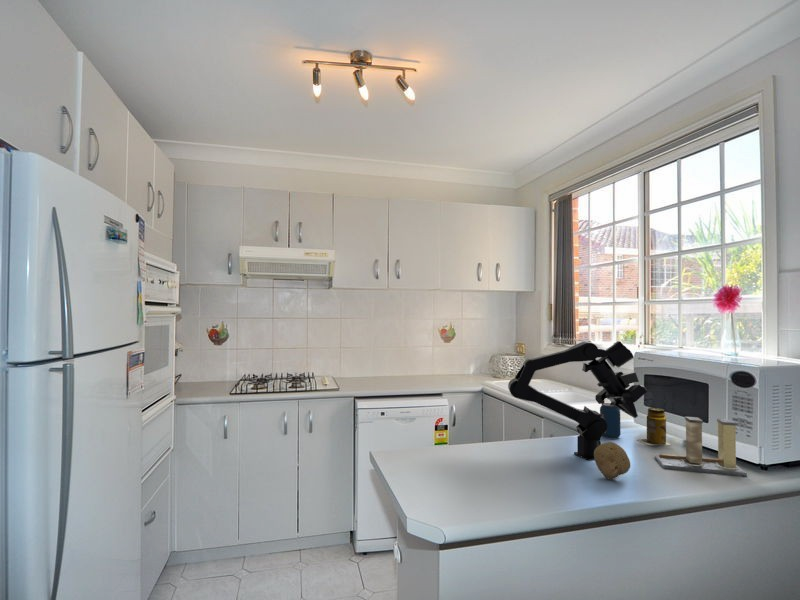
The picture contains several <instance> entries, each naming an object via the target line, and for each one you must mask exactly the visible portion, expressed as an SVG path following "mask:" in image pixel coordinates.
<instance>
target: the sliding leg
mask: <svg viewBox="0 0 800 600" xmlns="http://www.w3.org/2000/svg"><path fill="white" fill-rule="evenodd" d="M684 420H685V456H686V459H687V460H688V461H689V462H690V463H698V464H702V458H703V423H704V421H703V420H702V419H701V418H700V417H697V416H684Z"/></svg>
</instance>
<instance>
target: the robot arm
mask: <svg viewBox="0 0 800 600" xmlns="http://www.w3.org/2000/svg"><path fill="white" fill-rule="evenodd" d="M634 357H635V356H634V354H633V353H632V351H631V350H630V349H629V348H628V347H626V346H625V345H624V344H623V343H622V342H621V341H618V340H617V341H616V342H615V343H613V344H612V345H611V346H609V347H608V348H606V349H603V348H598V346H597V345H596V344H594V343H593V342H589V341H581V342H579V343H577V344H574V345H572V346H570V347H569V348H567V349H565V350H561V351H558V352H557V351H556V352H554V353H550V354H547V355H542V356H541V355H540V356H538V357H535V358H534V357H533V358H527V359H525V361H524V362H523V364H522V365H521V367H520V369H519V371H518V372H517V373H516V375H515V377H514V378H512V379H511V380H509V382H508V384H507V388H508V391H509V392H510V394H511V396H512V397H514V398H516V399H519V400H522V401H527V402H532V403H536V404H537V405H540V406H542V407H545V408H546V409H548V410H550V411H553V412H555V413H557V414H559V415H561V416H564V417H566V418H568V419H570V420H572V421H575V422H576V423H577V424H578V425H577V426H576V427H575V428H576V430H577V433H578V434H579V435H577V437H576V438H577V441H576V443H577V445H576V446H577V451H574V453H573V454H574V455H576V456H578V457H580V458H583V459H585V460H588V461H590V460H595V459H594V451H595V449H596V448H597V447H598V446H599V445H600V444H602V441H601V439H602V438H603V437H602V434H603V433H605V432H606V430H607V422H606V421H605V419H603V418H602V417H601V416H602V415H601V414H600V412H598V411H597V410H592V409H590V408H589V407H587V406H585V405H584V407H583V409H582V408H581V409H580V408H577V407H574V406H572V405H570V404H568V403H566V402H563V401H562V400H559V399H557V398H554V397H552V396H550V395H547V394H545V393H543V392H541V391H539V390H537V388H535V387H533V386H532V385H531V384H530V383H531V381H532V379H533V377H534V374H535V372H536V371H539V370H543V369H548V368H551V367H552V368H553V367H555V366H559V365H563V364H567V363H574V362H582V365H583V366H582V369H581V370H582V372H585V373H587V372H589V371H590V372H591V374H592V375H593V376H594V378H595V379H596V380H597V382H598V383H597V384H596V385H597V386H598V387H599V388H600V387H601V388H603V389H601V390H599V392H598V393H597V394H596V395H595V401H596V402H597V404H598V405H602V404H604V403H606V402H605V400H606V399H607V400H609V403H610V405H612V406H614V407H616V408H618V409H620V411H621V412H624V413H625V414H626V415H629V416H630V417H632V418H634V419H636V418H638V416H639V415H638V412H637V409H636V406H635V403H637V401H638V400H639V399H641V398H642V397H643V396H644V395H646V393H647V392H648V390H647V388H646V387H645V386H644V385H643V384H634V385H633V383H639V382H640V381H639V377H638V374H637V373H636V371H633V372H632V371H631V372H627V373H624V372H623V371H617V372H615V371H614V370H613V368H615V367H616V368H617V369H619V368H620V367H622V366H624V365H625V364H627V363H628V362H630V361H632V360H633V359H634ZM597 358H599V359H597ZM585 362H588V363H585ZM612 367H613V368H612ZM630 384H632V385H631V386H630Z"/></svg>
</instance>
